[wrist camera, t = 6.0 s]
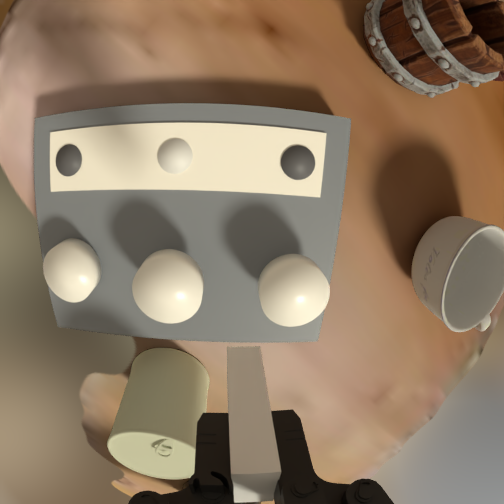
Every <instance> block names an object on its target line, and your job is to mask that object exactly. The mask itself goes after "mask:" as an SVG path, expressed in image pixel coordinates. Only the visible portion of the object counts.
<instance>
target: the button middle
mask: <svg viewBox="0 0 504 504" xmlns="http://www.w3.org/2000/svg"><path fill="white" fill-rule="evenodd" d="M203 288H204V277H203V273H202V270H201V268H200V266H199V265H198V264H197V262H196V261H195V260H194V259H193V258H192V257H190V256H189V255H187V254H186V253H184V252H181V251H178V250H173V249H164V250H159V251H157V252H154V253H153V254H151V255H150V256H148V257H147V258H146V259H145V261H144V262H143V264H142V265H141V267H140V268H139V270H138V271H137V273H136V275H135V277H134V279H133V283H132V292H133V297H134V300H135V302H136V304H137V305H138V307H139V308H140V309H141V311H142V312H143V313H144V314H146V315H147V316H148V317H150V318H152V319H154V320H156V321H159V322H162V323H171V324H173V323H180V322H183V321H185V320H187V319H189V318H191V317H192V316H193V315H194V314H195V313H196V312H197V311H198V309H199V307H200V305H201V301H202V295H203Z"/></svg>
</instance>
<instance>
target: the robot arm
mask: <svg viewBox="0 0 504 504" xmlns="http://www.w3.org/2000/svg"><path fill="white" fill-rule="evenodd" d="M227 387H228V413H203V414H202V415H201V417H200V418H199V420H198V422H197V432H196V434H197V435H196V450H195V470H194V474H193V475H192V476H191V477H190V480H189V481H188V482H186V483H185V484H184V485H183V490H181V491H178V492H173V493H168V494H162V495H160V494H158V493H156V492H152V491H142V492H139V493H137V494H135V495H134V496H133V497H132V498H131V500H130V501H129V504H261V502H262V501H273V499H274V501H275V504H394V503H393V502H392V500H391V499H390V498H389V497H388V495H387V494H386V492H385V491H384V490H383V488H382V487H381V486H380V485H379V484H378V483H377V482H376V481H373V480H371V479H360V480H356V481H354V482H353V483H352V484H337V483H330V482H326V481H324V480H322V479H321V478H319V477H318V476H317V475H316V473H315V472H314V469H313V466H312V462H311V458H310V454H309V451H308V447H307V443H306V440H305V435H304V431H303V427H302V423H301V420H300V418H299V417H298V415H297V414H296V413H295V412H294V411H293V410H281V411H271V408H270V402H269V397H268V391H267V385H266V379H265V373H264V367H263V361H262V355H261V349H260V346H259V347H227Z"/></svg>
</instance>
